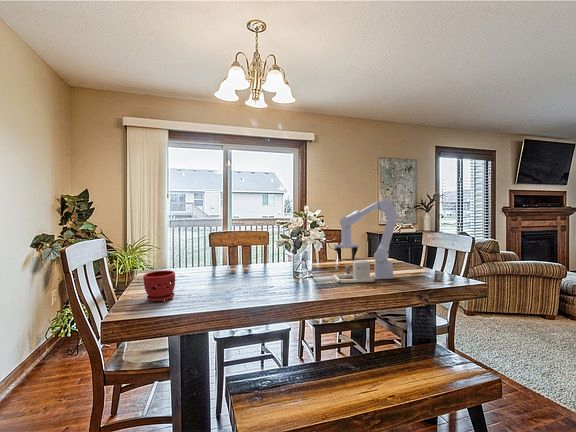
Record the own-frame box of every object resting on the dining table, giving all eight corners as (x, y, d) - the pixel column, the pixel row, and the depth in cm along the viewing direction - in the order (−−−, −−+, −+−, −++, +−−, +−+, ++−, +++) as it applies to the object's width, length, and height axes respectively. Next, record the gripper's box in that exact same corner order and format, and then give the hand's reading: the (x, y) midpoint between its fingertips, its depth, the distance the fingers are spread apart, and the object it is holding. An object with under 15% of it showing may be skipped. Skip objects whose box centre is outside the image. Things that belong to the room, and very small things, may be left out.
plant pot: (152, 295, 152) (151, 270, 152) (180, 295, 152) (179, 270, 151) (138, 304, 139) (137, 276, 139) (168, 304, 139) (168, 276, 138)
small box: (366, 279, 179) (366, 260, 178) (370, 281, 173) (370, 262, 173) (352, 279, 178) (352, 260, 178) (355, 282, 173) (355, 262, 172)
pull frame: (363, 273, 192) (363, 265, 192) (374, 281, 172) (374, 272, 172) (330, 274, 191) (330, 266, 190) (338, 282, 171) (338, 273, 171)
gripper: (356, 236, 196) (356, 258, 196) (332, 237, 195) (333, 259, 195) (359, 237, 189) (360, 260, 189) (335, 238, 188) (335, 261, 188)
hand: (346, 260), depth 192 cm, fingers open, 7 cm apart
